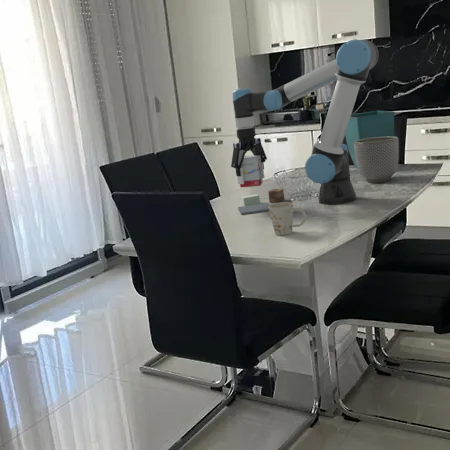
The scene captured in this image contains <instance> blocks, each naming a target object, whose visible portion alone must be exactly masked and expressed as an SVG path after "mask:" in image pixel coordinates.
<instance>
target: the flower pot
mask: <svg viewBox="0 0 450 450" xmlns="http://www.w3.org/2000/svg"><path fill="white" fill-rule="evenodd" d="M384 136H395V111H390V110H372V111H366V112H359V113H353V114H351V117H350V120H349V123H348V127H347V130H346V133H345V136H344V138H345V140H346V145H347V148H348V154H349V156H350V157H351V160H352V162H353V164H354V165H353V166H354V167H355V169H356V168H357V163H356V157H355V150H354V141H356V140H360V139H365V138H372V137H384ZM356 170H358V168H357V169H356Z"/></svg>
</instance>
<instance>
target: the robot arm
mask: <svg viewBox="0 0 450 450" xmlns="http://www.w3.org/2000/svg"><path fill="white" fill-rule="evenodd" d="M335 56H336V57H335V59H334V60H333V59H332V60H331V61H329V62H327V63H326V64H324V65H321V66H319V67H318V68H315V69H314V70H311V71H309V72H307V73H305V74H303V75H301V76H299V77H297V78H295V79H293V80H291V81H290V82H287V83H286V84H283V85H280V86H279V87H276V88H275V89H271V90H270V89H269V90H266V91H265V90H263V91H257V92H252V90H251V88H249V87H248V88H239V89H234V90H233V91H232V103H233V113H234V121H235V127H236V128H237V129H236V137H237V139H238V142H233V143H232V146H233V147H232V148H233V151H232V157H231V164H230V168H233V169H235V174H236V175H235V176H236V177H237V184H238V185H240V184H244V177H243V168H241V165H242V162H243V159H244V156H246V154H247V153H248V152H249V151H250V152H251V153H252V156H255V155H260V157H261V168H262V179H265V171H264V170H265V165H264V163H266V161H267V159H268V158H267V155H266V152H265V149H264V147H263V144H262V139H261V138H260V137H256V134H257V133H256V128H255V127H254V126H255V116H254V113H255V112H256V113H257V112H267V111H271V112H272V111H277V110H280V108H281V109H282V108H284V107H286V106H287V105H288V104H291V103H292V102H294V101H297V100H298V99H301V98H303V97H304V96H307V95H309V94H311V93H314V92H315V91H318V90H320V89H321V88H324V87H326V86H328V85H330V84H332V83H334V82H336V84H335V87H334V90H333V92H332V96H331V100H330V102H329V103H330V104H329V106H328V111H327V112H326V113H327V114H326V118H325V121H324V124H323V128H322V131H321V134H320V138H319V140H318V141H316V142H315V143H314V145H313V147H312V150H311V155H310V156H309V157H308V158H307V160H306V161H305V163H304V164H305V165H304V170H305V174H306V175H307V178H309V180H311V181H312V182H313V183H316V184H320V189H319V192H318V193H319V194H318V203H320V204H324V205H340V204H345V203H351V202H354V201H356V200H357V193H356V191H355V188H354V186H353V184H352V181H351V172H350V171H351V170H350V163H349V161H350V159H349V149H348V146H347V144H345V143H343V142H344V139H345V133H346V130H347V127H348V123H349V120H350V117H351V115H352V113H353V111H354V110H353V109H354V106H355V103H356V101H357V96H358V93H359V92H360V91H359V90H360V87H361V85H363V84H365V83H366V82H367V78H368V75H369V73H370V70H371V69H373V68H374V67H375V66H376V65H377V63H378V60H379V50H378V47H377V45H375V43H374V42H372V41H371V40H368V39H357V38H355V39H351V40H348V41H346V42H344V43H343V44H342V45H340V47H339V49H338V50H337V53H336V55H335Z"/></svg>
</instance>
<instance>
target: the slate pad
mask: <svg viewBox="0 0 450 450" xmlns="http://www.w3.org/2000/svg"><path fill="white" fill-rule="evenodd" d="M269 205H270V202H264V203H260V204H256V205H249V206H242V205H241V206H238V207H237V209H238V211H239V214H240V215H242V216H243V215H251V214H258V213H264V212H269Z"/></svg>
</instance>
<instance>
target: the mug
mask: <svg viewBox="0 0 450 450" xmlns="http://www.w3.org/2000/svg"><path fill="white" fill-rule="evenodd" d="M294 212H299V213H301V215H302V219H301V221H300V223H298V224H297V223H296V224H293V221H294V220H293V219H294V218H293V216H294V214H293V213H294ZM268 213H269V215H270V219H271V223H272V224H271V225H272V228H273V231H274V235H277V236H286V235H291V234H292V233H293V228H298V227H301V226H303V225H304V224H305V222H306V220H307V213H306V211H305V210H304V209H303V208H302V207H297V206H296V207H294V204H293V202H290V201H284V202H283V201H281V202H273V203H270V204H269V211H268Z"/></svg>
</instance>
